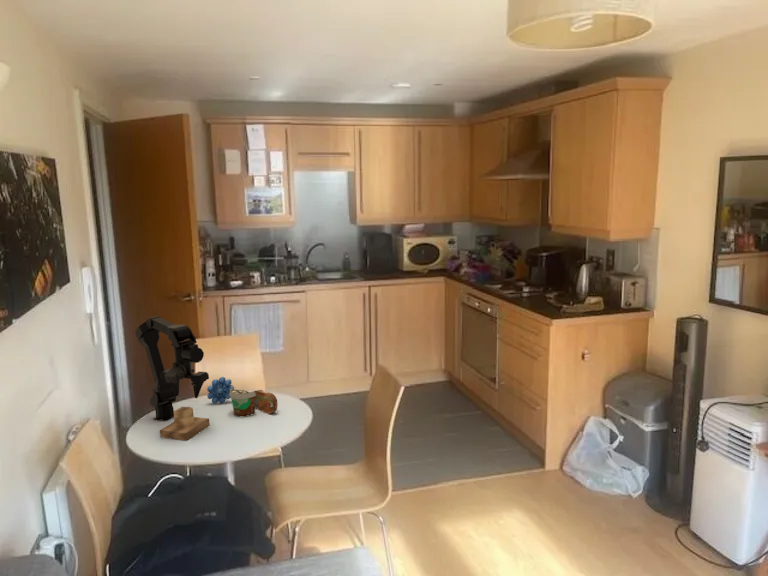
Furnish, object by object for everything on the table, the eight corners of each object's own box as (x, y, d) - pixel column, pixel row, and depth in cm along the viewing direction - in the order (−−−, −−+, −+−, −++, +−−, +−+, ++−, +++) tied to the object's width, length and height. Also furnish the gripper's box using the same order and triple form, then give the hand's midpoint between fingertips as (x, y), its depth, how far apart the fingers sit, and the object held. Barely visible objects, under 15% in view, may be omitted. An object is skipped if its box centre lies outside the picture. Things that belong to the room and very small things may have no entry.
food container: (224, 415, 239) (222, 392, 237) (234, 409, 244) (232, 387, 242) (247, 419, 233) (245, 395, 231) (257, 414, 238) (255, 390, 236)
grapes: (236, 398, 257) (234, 372, 255) (234, 404, 250) (232, 377, 248) (209, 401, 256) (207, 375, 253) (207, 406, 249) (204, 380, 247)
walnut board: (160, 437, 219) (159, 430, 219) (184, 422, 232) (183, 415, 232) (187, 440, 215) (186, 433, 215) (209, 425, 228) (209, 418, 228)
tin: (251, 408, 245) (250, 389, 244) (257, 405, 248) (256, 387, 246) (273, 416, 235) (271, 396, 234) (279, 413, 237) (278, 394, 236)
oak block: (175, 426, 222) (173, 411, 221) (183, 421, 226) (182, 406, 225) (186, 427, 220) (184, 412, 219) (194, 422, 225) (192, 407, 224)
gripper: (148, 362, 218) (152, 402, 221) (188, 366, 211) (192, 406, 214) (168, 354, 228) (172, 391, 231) (207, 357, 222) (211, 396, 225)
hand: (186, 396), depth 225 cm, fingers open, 9 cm apart
